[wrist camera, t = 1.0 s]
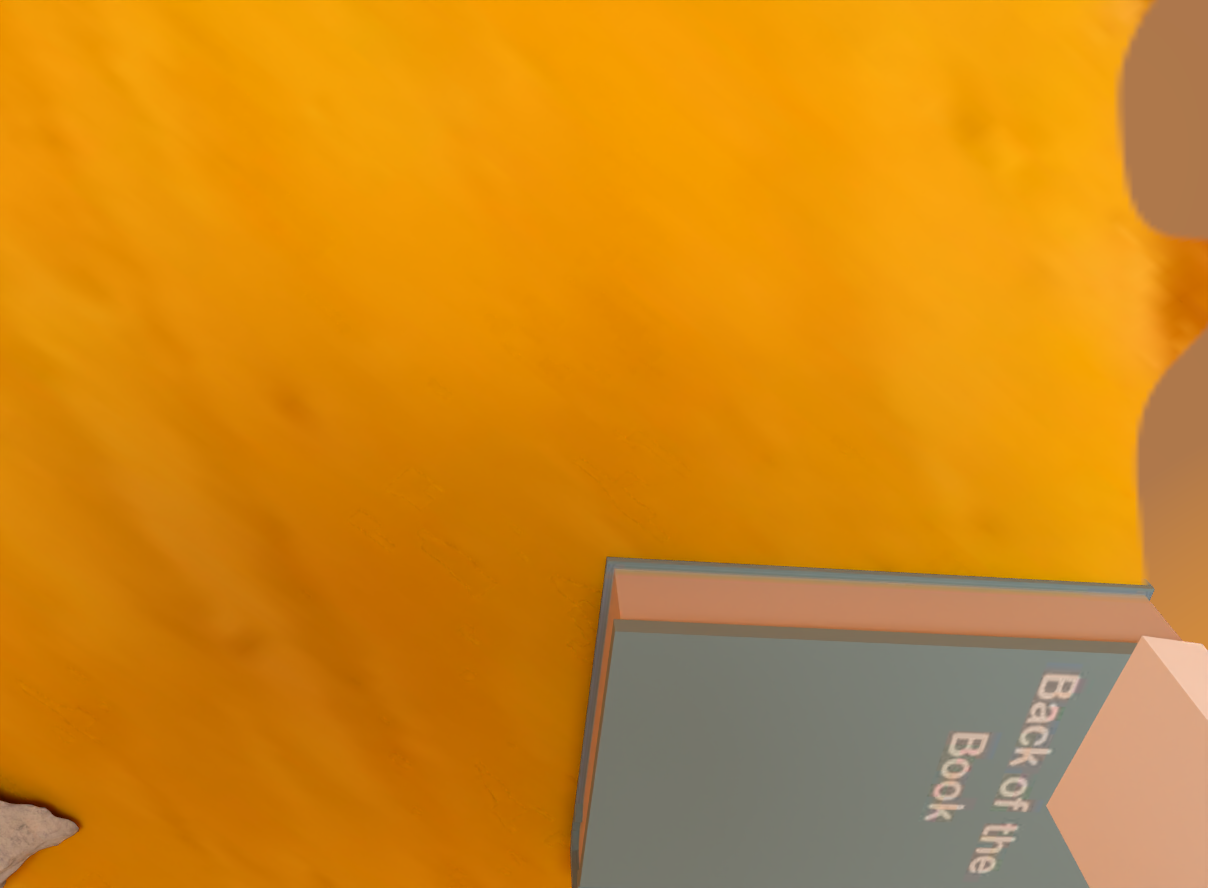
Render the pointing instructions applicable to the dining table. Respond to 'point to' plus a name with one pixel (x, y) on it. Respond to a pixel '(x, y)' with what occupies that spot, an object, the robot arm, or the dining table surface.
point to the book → (839, 725)
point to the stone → (28, 834)
